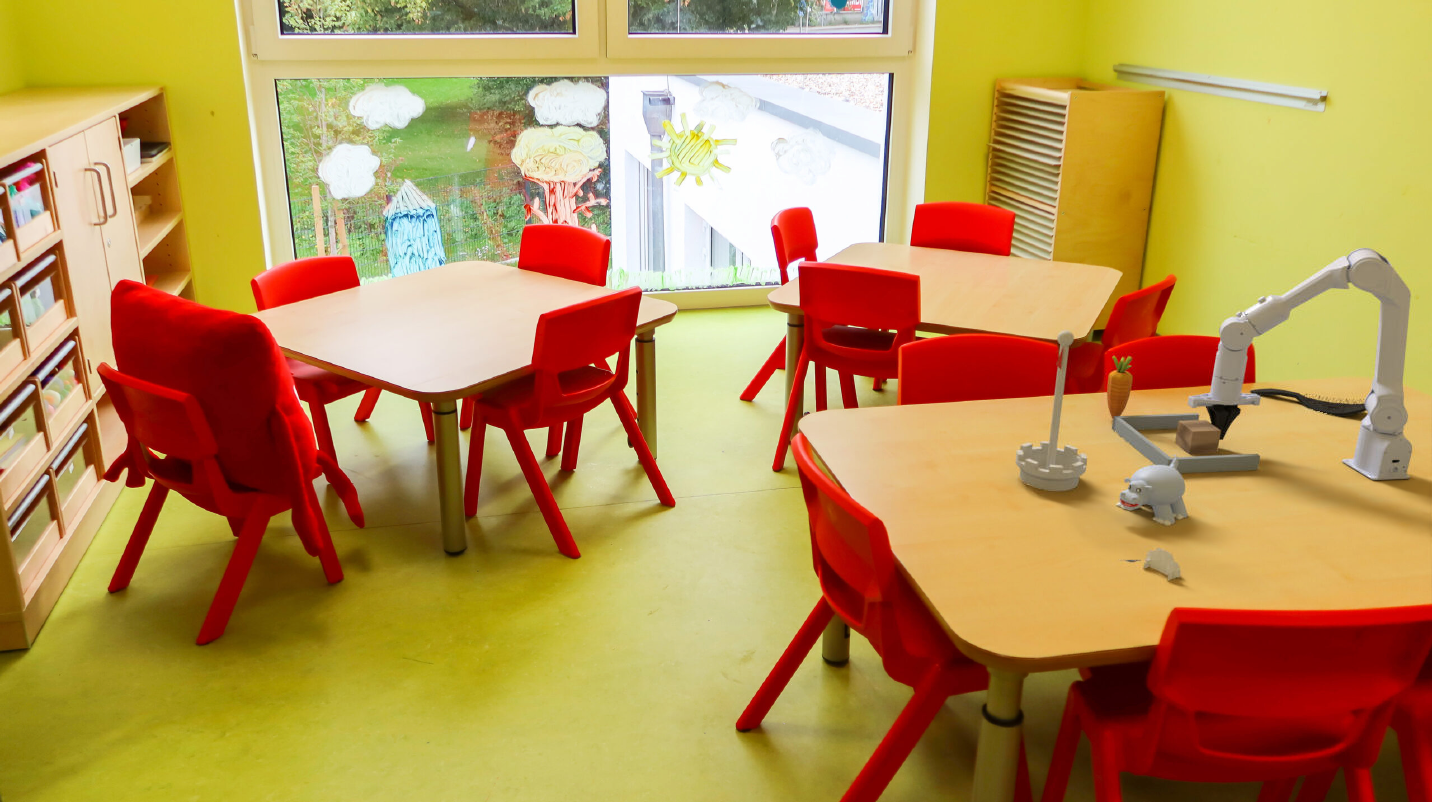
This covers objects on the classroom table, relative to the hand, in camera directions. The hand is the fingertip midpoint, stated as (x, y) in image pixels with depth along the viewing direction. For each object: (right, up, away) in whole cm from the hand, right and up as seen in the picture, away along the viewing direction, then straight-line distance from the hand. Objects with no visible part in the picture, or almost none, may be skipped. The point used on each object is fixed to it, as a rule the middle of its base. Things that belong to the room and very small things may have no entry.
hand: (1217, 438), depth 228 cm
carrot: (-16, +3, +15) cm, 22 cm away
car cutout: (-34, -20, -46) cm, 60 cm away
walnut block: (-4, -2, 0) cm, 5 cm away
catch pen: (-7, -2, 0) cm, 7 cm away
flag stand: (-39, -8, -15) cm, 43 cm away
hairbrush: (+32, +6, +26) cm, 42 cm away
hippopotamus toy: (-26, -13, -29) cm, 41 cm away
